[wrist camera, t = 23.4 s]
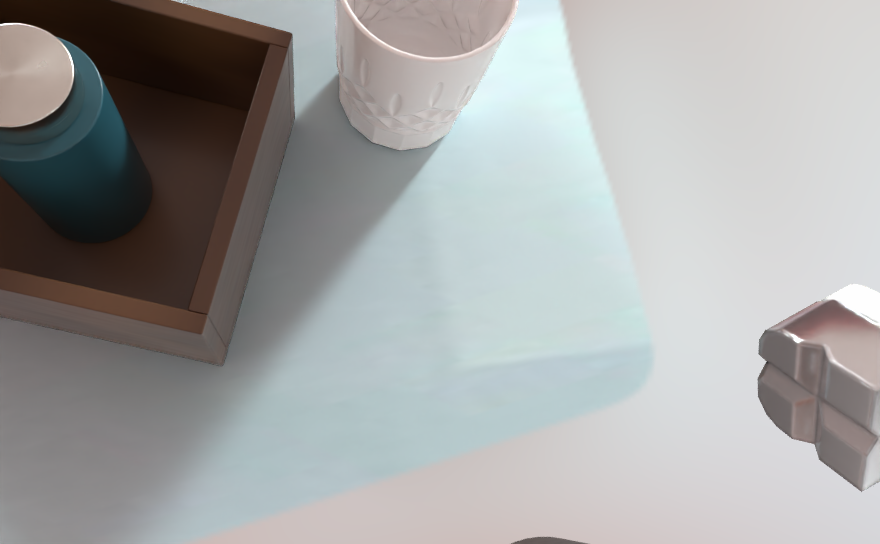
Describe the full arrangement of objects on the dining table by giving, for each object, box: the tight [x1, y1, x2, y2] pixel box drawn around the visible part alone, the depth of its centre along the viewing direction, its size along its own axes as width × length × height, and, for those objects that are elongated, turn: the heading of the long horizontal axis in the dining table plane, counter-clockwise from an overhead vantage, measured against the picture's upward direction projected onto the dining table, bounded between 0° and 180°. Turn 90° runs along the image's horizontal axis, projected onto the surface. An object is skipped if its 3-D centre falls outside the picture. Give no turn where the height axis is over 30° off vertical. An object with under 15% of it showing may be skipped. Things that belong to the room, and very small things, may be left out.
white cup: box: [335, 0, 519, 150], centre depth 37 cm, size 8×8×10 cm
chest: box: [0, 0, 295, 366], centre depth 34 cm, size 16×14×8 cm
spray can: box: [0, 23, 152, 243], centre depth 31 cm, size 5×5×11 cm
